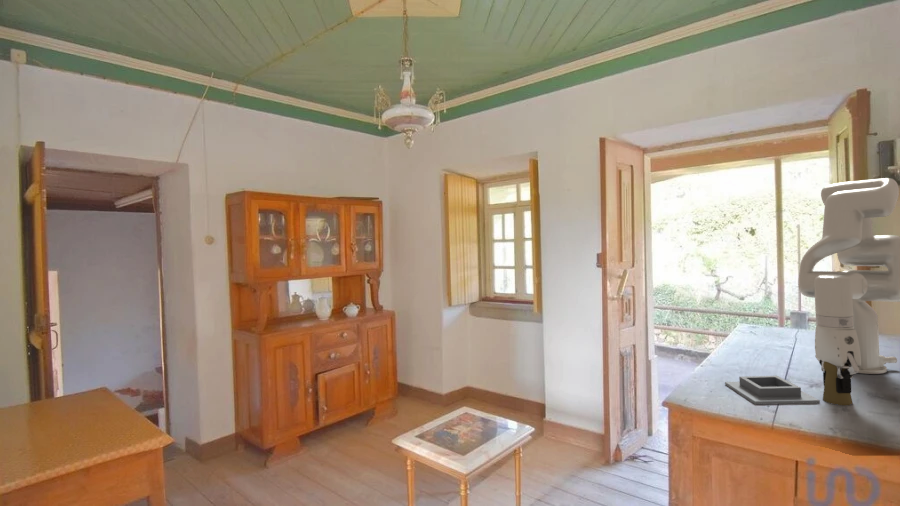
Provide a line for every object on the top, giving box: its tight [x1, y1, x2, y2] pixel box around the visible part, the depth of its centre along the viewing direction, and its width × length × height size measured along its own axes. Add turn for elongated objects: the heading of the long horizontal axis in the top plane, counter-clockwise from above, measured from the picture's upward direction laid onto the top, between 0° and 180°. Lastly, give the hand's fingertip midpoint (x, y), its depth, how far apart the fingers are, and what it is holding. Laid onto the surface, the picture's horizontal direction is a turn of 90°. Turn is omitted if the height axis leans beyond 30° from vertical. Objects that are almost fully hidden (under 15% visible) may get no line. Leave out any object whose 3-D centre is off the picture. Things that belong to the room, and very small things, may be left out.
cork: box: [822, 361, 853, 406], centre depth 116 cm, size 6×6×11 cm
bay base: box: [724, 375, 821, 405], centre depth 124 cm, size 16×16×3 cm
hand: (837, 389), depth 116 cm, fingers closed on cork, 3 cm apart
